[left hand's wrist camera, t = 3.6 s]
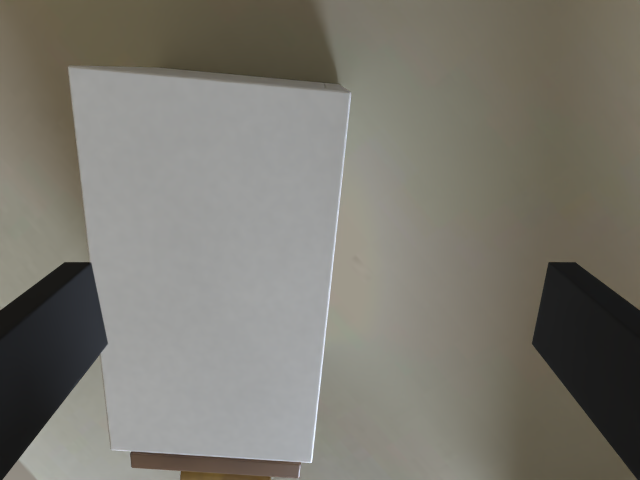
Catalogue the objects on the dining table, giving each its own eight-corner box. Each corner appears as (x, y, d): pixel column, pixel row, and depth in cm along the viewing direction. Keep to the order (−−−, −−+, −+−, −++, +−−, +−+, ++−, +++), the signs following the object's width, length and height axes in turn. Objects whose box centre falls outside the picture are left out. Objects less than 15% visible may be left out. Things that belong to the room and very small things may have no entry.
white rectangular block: (314, 354, 35) (311, 463, 25) (169, 343, 35) (110, 450, 25) (340, 84, 28) (351, 91, 18) (156, 67, 28) (66, 65, 18)
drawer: (299, 437, 37) (293, 537, 29) (175, 429, 37) (136, 527, 29) (325, 146, 28) (328, 176, 20) (163, 132, 28) (102, 156, 20)
